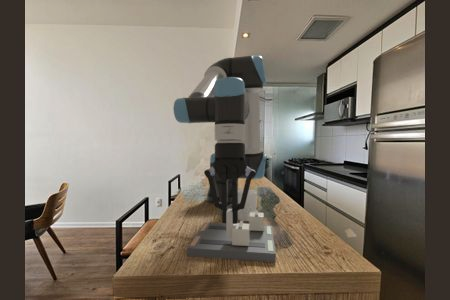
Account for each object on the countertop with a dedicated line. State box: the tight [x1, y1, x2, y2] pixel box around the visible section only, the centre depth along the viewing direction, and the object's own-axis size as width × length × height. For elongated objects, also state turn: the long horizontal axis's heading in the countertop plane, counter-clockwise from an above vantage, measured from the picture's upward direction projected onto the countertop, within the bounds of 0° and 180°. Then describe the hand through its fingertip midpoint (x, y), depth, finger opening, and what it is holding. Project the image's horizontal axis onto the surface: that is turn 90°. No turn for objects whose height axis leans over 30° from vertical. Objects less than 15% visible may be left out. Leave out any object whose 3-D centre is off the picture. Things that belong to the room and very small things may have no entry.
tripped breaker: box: [232, 220, 249, 246], centre depth 58 cm, size 4×4×5 cm
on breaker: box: [248, 209, 265, 231], centre depth 67 cm, size 4×4×5 cm
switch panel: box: [186, 222, 277, 263], centre depth 63 cm, size 18×21×2 cm
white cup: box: [238, 188, 258, 222], centre depth 83 cm, size 8×8×10 cm
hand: (230, 235), depth 58 cm, fingers closed
